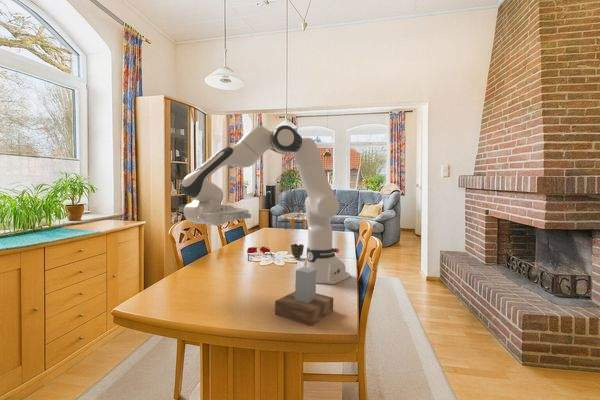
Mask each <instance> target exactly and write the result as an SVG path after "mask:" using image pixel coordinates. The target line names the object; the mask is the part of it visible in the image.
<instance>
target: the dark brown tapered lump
mask: <svg viewBox="0 0 600 400" xmlns="http://www.w3.org/2000/svg"><path fill="white" fill-rule="evenodd" d="M304 248H305V246H304V244H303V243H302V244H300V243H299V244H297V243H293V244H290V250H291V255H292V256H293V258H300V259H301V256H302V255H304V254H303V253H304Z"/></svg>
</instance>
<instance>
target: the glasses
mask: <svg viewBox="0 0 600 400" xmlns="http://www.w3.org/2000/svg"><path fill="white" fill-rule="evenodd" d="M259 251H260V253H261V252H262V254H264V253H265V252H269V253H270V255H271V257H273V253H272V252H271V249H270V248H269V247H266V246H261V247H259ZM246 252H247V261H248V260H249V261H250V255H249V254H248V253H253V254H255V253H258V247H256V246H251V247H248V248H247V250H246Z"/></svg>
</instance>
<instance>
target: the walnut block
mask: <svg viewBox="0 0 600 400" xmlns="http://www.w3.org/2000/svg"><path fill="white" fill-rule="evenodd" d="M332 312H334V296H333V297H332V296H328V295H325V294H320V293H316V297H315V299H314V300H312V301H311V302H309V303H305V302H301V301H297V300H295V291H293V292H291V293H289V294H287V295H284V296H283V297H281V298H278V299H277V300H275V301H274V314H275V315H276V316H278V317H281V318H285V319H288V320H290V321H293V322H297V323H300V324H303V325H305V326H310V327H312V326H314V325H315V324H317V323H318V322H319V321H320V320H322V319H324V318H325V317H327V316H328V315H330V314H331V313H332Z"/></svg>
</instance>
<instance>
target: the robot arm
mask: <svg viewBox="0 0 600 400" xmlns="http://www.w3.org/2000/svg"><path fill="white" fill-rule="evenodd" d="M268 150H271V151H273V152H275V153H277V154H281V155H286V154H289V153H290V154H292V155H293V157H294V159H295V162H296V166H297V170H298V174H299V177H300V181H301V184H302V186H303V188H304V190H305V192H306V195H307V197H306V198H305V200H304V207H305V215H306V223H307V247H306V257H307V258H306V259H307V265H306V266H305V267H307V268H313V269H316V284H329V285H335V284H338V283H340V282H342V281H344V280H347V279H349V278H351V274H350V272H347V270H346V264H345V262H343V261H342V260H341V259H340V258H339V257H337V256H336V254H338V253H339V252H340V249H339V248H338V247H337V248H336V247H334V248H333V238H334V237H333V233H334V231H333V228H332V224H331V218H333V217H335V216H336V215H337V214H338V212H339V209H340V202H339V200H338V199H337V197H336V196H335V194H334V191H333V188H332V186H331V184H330V183H329V180H328V178H327V175H326V170H325V168H324V164H323V163H324V162H323V159H322V157H321V154H320V151H319V147H318V146H317V144H316V142H315V140H314V139H313V138H311V137H302V135H300V134H299V132H298V131H296V130H295V128H293V127H292V126H289V125H279V126H278V127H277V128H275V129H274V131H271V130H269V129H268V128H266V127H265V126H263V125H256V126H254V127H253V128H251V129H250V130H249V131H248V132H247V133H245V134H244V135H242V137H241V138H240V139H239V140H238V141H237V142H236V143H235V144H233V145H231V146H225V147H223V148H221V149H219V150H218V151H217V152H216V153H214V154H213V155H212V156H211V157H209V158H208V159H207V160H205V162H203V163H202V164H201V165H199V166H198V167H197V168H196V169H194V170H193V171H191V172H190V173H188V174H186V175H185V176H184V177H183V178H182V180H181V184H180V185H181V191H182V193H183V195H185V196H187V197H189V198H192V199H193V200H192V201H190V203H187V204H185V206H184V207H183V215H184V218H185V219H186V220H187V221H188V222H190V223H194V224H198V225H207V226H213V227H214V226H215V227H219V226H222V225H224V224H226V223H229V222H233V221H240V220H241V221H242V220H247V219H252V213H251V212H249V210H248V209H246V208H241V207H234V206H233V205H225V204H222V202H223V197H224V192H223V190H222V188H221V187H219V186H218V185H217V184H215V183H214V182H212V181H210V180H209V179H208V178H210V177H211V176H212V175H214V173H216V172H217V171H218V170H219V169H221V168H222V167H223V166H230V165H231V166H235V167H239V168H249V167H251V166H253V165H255V163H257V162H258V160H259V159H260V158H261V157H262V156H263V154H265V153H266V152H267V151H268ZM335 253H336V254H335Z"/></svg>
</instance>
